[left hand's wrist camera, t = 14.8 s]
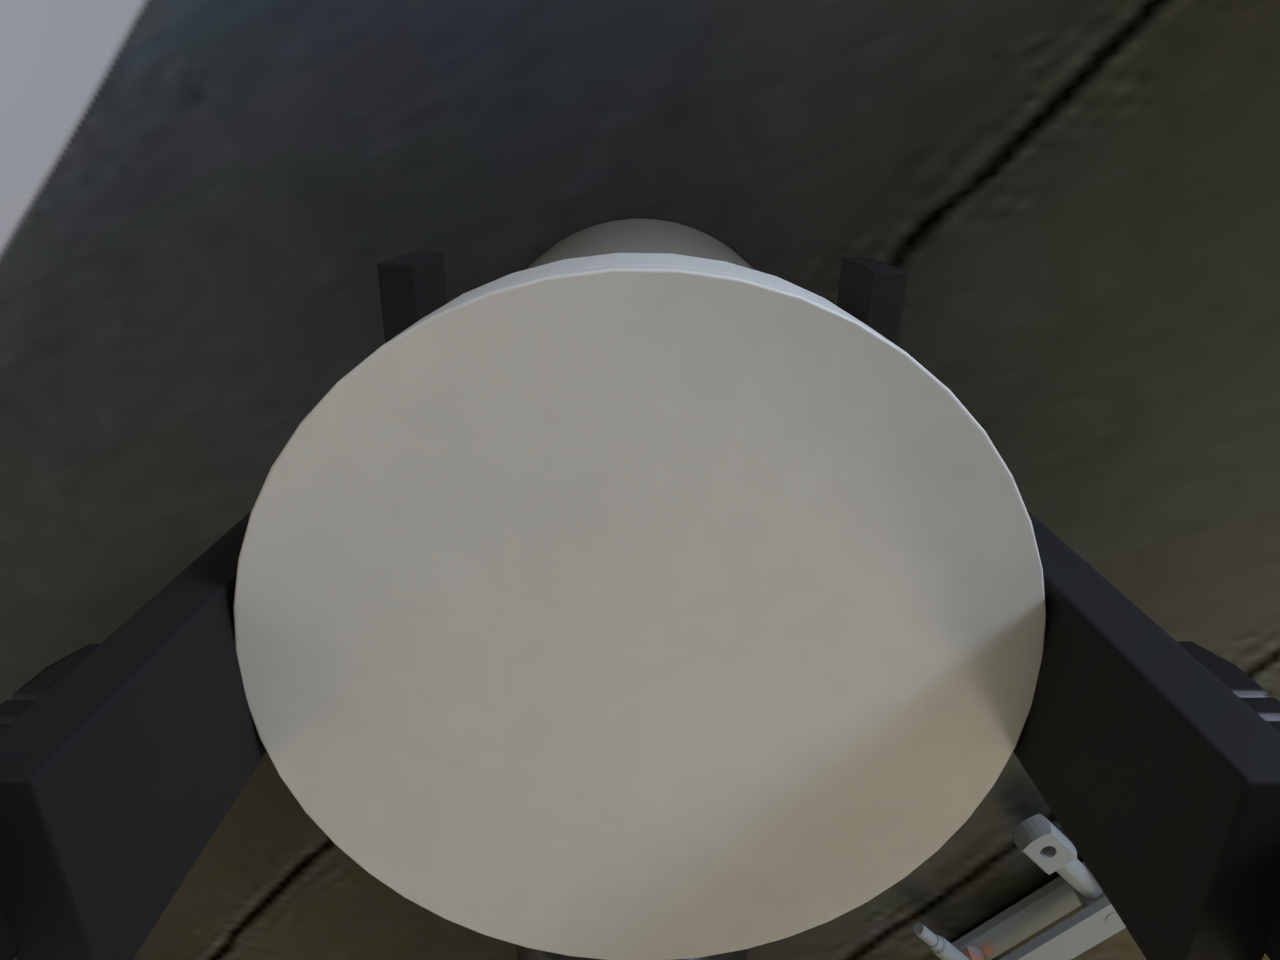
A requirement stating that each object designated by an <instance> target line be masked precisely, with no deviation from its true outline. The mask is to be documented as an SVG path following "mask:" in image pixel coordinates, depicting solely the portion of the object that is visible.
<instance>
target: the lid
mask: <svg viewBox="0 0 1280 960" xmlns="http://www.w3.org/2000/svg"><path fill="white" fill-rule="evenodd" d="M233 610H234V629H235V648H236V653H237V658H238V662H239V667H240V671H241V676H242V681H243V685H244V690H245V694H246V699H247V703H248V706H249V710H250V712H251V715H252V718H253V721H254V723H255V726H256V729H257V732H258V734H259V737H260V739H261V741H262V743H263V745H264V747H265V749H266V751H267V752H268V754H269V756H270V758H271V760H272V762H273V764H274V766H275V767H276V769H277V771H278V773H279V775H280V777H281V778H282V780H283V781H284V783H285V784H286V785H287V787H288V788H289V790H290V791H291V792H292V794H293V795H294V796H295V798H296V799H297V801H298V802H299V803H300V805H301V806H302V808H303V809H304V810H305V812H306V813H307V814H308V815H309V816H310V817H311V819H312V820H313V821H314V822H315V823H316V824H317V825H318V826H319V827H320V828H321V829H322V830H323V832H324V833H325V834H326V835H327V836H328V837H329V838H330V839H331V840H332V841H333V842H334V843H335V844H336V845H337V846H338V847H339V848H340V849H341V850H342V851H344V852H345V853H346V854H347V855H348V856H349V857H351V858H352V859H353V860H354V861H355V862H356V863H358V864H359V865H360V866H361V867H362V868H364V869H365V870H366V871H367V872H368V873H369V874H371V875H372V876H374V877H375V878H377V879H378V880H380V881H381V882H383V883H384V884H386V885H387V886H389V887H390V888H392V889H393V890H395V891H396V892H397V893H399V894H400V895H402V896H403V897H405V898H407V899H409V900H410V901H412V902H414V903H416V904H418V905H420V906H422V907H424V908H425V909H427V910H429V911H431V912H433V913H435V914H437V915H439V916H440V917H442V918H444V919H447V920H449V921H452V922H454V923H457V924H459V925H461V926H464V927H466V928H469V929H471V930H474V931H476V932H479V933H481V934H483V935H486V936H490V937H493V938H496V939H500V940H503V941H506V942H510V943H513V944H516V945H520V946H523V947H527V948H532V949H537V950H542V951H547V952H552V953H557V954H562V955H567V956H574V957H584V958H594V959H604V960H674V959H686V958H698V957H705V956H711V955H717V954H722V953H728V952H733V951H739V950H745V949H748V948H752V947H755V946H759V945H763V944H766V943H770V942H773V941H777V940H781V939H784V938H788V937H790V936H793V935H795V934H798V933H801V932H803V931H806V930H808V929H811V928H813V927H816V926H819V925H821V924H824V923H826V922H829V921H831V920H833V919H835V918H837V917H839V916H841V915H843V914H845V913H846V912H848V911H850V910H852V909H854V908H856V907H858V906H860V905H862V904H864V903H866V902H868V901H869V900H871V899H873V898H874V897H876V896H877V895H879V894H880V893H882V892H883V891H885V890H886V889H888V888H890V887H891V886H893V885H894V884H896V883H897V882H899V881H900V880H902V879H903V878H905V877H906V876H907V875H908V874H910V873H911V872H912V871H913V870H915V869H916V868H917V867H918V866H919V865H921V864H922V863H923V862H924V861H926V860H927V859H928V858H929V857H930V856H932V855H933V854H934V853H935V852H937V851H938V850H939V849H940V848H941V847H942V846H943V845H944V843H945V842H946V841H947V840H948V839H949V838H950V837H951V836H952V835H953V834H954V833H955V832H956V831H957V830H958V829H959V828H960V827H961V826H962V825H963V824H964V823H965V822H966V821H967V820H968V819H969V817H970V816H971V815H972V813H973V812H974V811H975V809H976V808H977V807H978V805H979V804H980V803H981V801H982V800H983V799H984V797H985V796H986V795H987V793H988V792H989V791H990V789H991V788H992V787H993V785H994V784H995V782H996V780H997V779H998V777H999V775H1000V773H1001V772H1002V770H1003V768H1004V766H1005V765H1006V763H1007V761H1008V759H1009V758H1010V756H1011V754H1012V752H1013V750H1014V749H1015V747H1016V745H1017V742H1018V740H1019V737H1020V735H1021V732H1022V730H1023V727H1024V725H1025V722H1026V720H1027V717H1028V714H1029V712H1030V709H1031V705H1032V701H1033V696H1034V692H1035V688H1036V683H1037V679H1038V674H1039V670H1040V665H1041V661H1042V655H1043V649H1044V637H1045V625H1046V607H1045V594H1044V580H1043V568H1042V564H1041V560H1040V555H1039V551H1038V547H1037V543H1036V539H1035V534H1034V530H1033V526H1032V522H1031V519H1030V517H1029V514H1028V512H1027V510H1026V507H1025V505H1024V502H1023V500H1022V498H1021V495H1020V493H1019V490H1018V488H1017V486H1016V483H1015V481H1014V478H1013V476H1012V474H1011V472H1010V471H1009V469H1008V468H1007V466H1006V464H1005V463H1004V461H1003V459H1002V458H1001V456H1000V455H999V453H998V451H997V450H996V448H995V446H994V445H993V443H992V442H991V440H990V438H989V437H988V435H987V433H986V432H985V430H984V429H983V428H982V427H981V426H980V425H979V423H978V422H977V421H976V420H975V419H974V418H973V416H972V415H971V414H970V413H969V412H968V410H967V409H966V408H965V407H964V406H963V405H962V403H961V402H960V401H959V400H958V399H957V398H956V396H955V395H954V394H953V393H952V392H951V391H950V389H948V388H947V387H946V386H945V385H944V384H943V383H941V382H940V381H939V380H938V379H937V378H936V377H935V376H933V375H932V374H931V373H930V372H929V371H928V370H926V369H925V368H924V367H923V366H922V365H921V364H919V363H918V362H917V361H916V360H915V359H914V358H913V357H911V356H910V355H909V354H908V353H907V352H905V351H904V350H902V349H901V348H899V347H898V346H897V345H895V344H894V343H892V342H891V341H889V340H888V339H886V338H885V337H883V336H882V335H881V334H879V333H878V332H876V331H875V330H873V329H872V328H870V327H869V326H867V325H866V324H864V323H863V322H861V321H860V320H858V319H856V318H855V317H853V316H852V315H850V314H849V313H847V312H845V311H844V310H842V309H841V308H839V307H838V306H836V305H834V304H833V303H831V302H830V301H828V300H827V299H825V298H823V297H821V296H819V295H816V294H814V293H812V292H810V291H808V290H805V289H803V288H801V287H799V286H797V285H794V284H792V283H790V282H788V281H785V280H783V279H781V278H779V277H777V276H773V275H770V274H766V273H763V272H760V271H756V270H753V269H749V268H746V267H743V266H739V265H736V264H732V263H729V262H725V261H719V260H712V259H705V258H699V257H692V256H685V255H679V254H672V253H612V254H604V255H596V256H588V257H580V258H571V259H564V260H560V261H556V262H552V263H549V264H545V265H541V266H537V267H534V268H530V269H526V270H522V271H518V272H515V273H511V274H509V275H507V276H504V277H502V278H500V279H497V280H495V281H492V282H490V283H488V284H485V285H483V286H481V287H478V288H476V289H473V290H471V291H469V292H466V293H464V294H462V295H461V296H459V297H457V298H456V299H454V300H452V301H451V302H449V303H447V304H445V305H444V306H442V307H440V308H439V309H437V310H435V311H434V312H432V313H430V314H429V315H427V316H425V317H424V318H422V319H420V320H419V321H417V322H416V323H415V324H413V325H412V326H410V327H409V328H407V329H406V330H404V331H403V332H401V333H400V334H398V335H397V336H395V337H394V338H393V339H391V340H390V341H388V342H387V343H385V344H384V345H382V346H381V347H380V348H379V349H377V350H376V351H375V352H374V353H372V354H371V355H370V356H369V357H368V358H366V359H365V360H364V361H363V362H361V363H360V364H359V365H358V366H356V367H355V368H354V369H353V370H352V371H350V372H349V373H348V374H347V375H345V376H344V377H343V378H342V379H341V380H339V381H338V382H337V383H336V384H335V385H334V386H333V387H332V389H331V390H330V391H329V392H328V393H327V394H326V395H325V396H324V397H323V399H322V400H321V401H320V402H319V403H318V404H317V405H316V406H315V407H314V408H313V410H312V411H311V412H310V413H309V414H308V415H307V416H306V417H305V418H304V419H303V421H302V422H301V423H300V424H299V426H298V427H297V429H296V430H295V432H294V433H293V435H292V437H291V438H290V440H289V441H288V443H287V444H286V446H285V447H284V449H283V450H282V452H281V453H280V455H279V456H278V458H277V459H276V461H275V462H274V464H273V465H272V467H271V469H270V472H269V474H268V476H267V478H266V480H265V483H264V485H263V487H262V489H261V492H260V494H259V496H258V498H257V500H256V503H255V505H254V507H253V509H252V512H251V515H250V518H249V522H248V526H247V529H246V533H245V537H244V540H243V544H242V548H241V552H240V555H239V559H238V568H237V577H236V587H235V596H234V606H233Z"/></svg>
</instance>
